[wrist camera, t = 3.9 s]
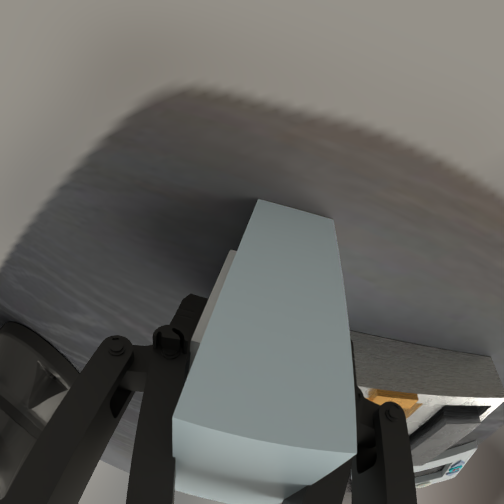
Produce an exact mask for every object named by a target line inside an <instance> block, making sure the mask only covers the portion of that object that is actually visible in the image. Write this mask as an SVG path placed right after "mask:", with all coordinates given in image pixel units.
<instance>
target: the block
mask: <svg viewBox="0 0 504 504" xmlns="http://www.w3.org/2000/svg"><path fill="white" fill-rule="evenodd" d="M172 445H173V457H175V458H176V477H175V490H177V491H180V492H183V493H187V494H190V495H194V496H198V497H202V498H205V499H209V500H214V501H218V502H222V503H227V504H279V503H281V502H283V500H284V499H286V498H287V497H289V496H291V495H292V494H294V493H296V492H298V491H299V490H301V489H302V488H304V487H306V486H307V485H312V484H314V483H315V482H317V481H318V480H320V479H321V478H323V477H325V476H326V475H328V474H329V473H331V472H332V471H333V470H335V469H336V468H338V467H339V466H341V465H342V464H343V463H345V462H346V461H348V460H349V459H350V458H352V457H353V456H354V455H356V454H357V431H356V407H355V389H354V375H353V363H352V351H351V341H350V331H349V322H348V313H347V305H346V297H345V290H344V283H343V276H342V269H341V262H340V256H339V250H338V243H337V238H336V232H335V226H334V221H333V219H329V218H326V217H322V216H319V215H316V214H312V213H309V212H305V211H301V210H298V209H294V208H291V207H287V206H283V205H280V204H276V203H272V202H269V201H265V200H261V199H258V201H257V203H256V205H255V208H254V210H253V213H252V215H251V218H250V220H249V223H248V225H247V228H246V230H245V233H244V235H243V237H242V240H241V242H240V245H239V247H238V250H237V252H236V255H235V257H234V260H233V262H232V265H231V267H230V270H229V272H228V275H227V277H226V280H225V282H224V285H223V287H222V290H221V292H220V295H219V298H218V300H217V303H216V305H215V308H214V310H213V313H212V315H211V318H210V320H209V323H208V326H207V328H206V331H205V333H204V336H203V338H202V341H201V343H200V346H199V349H198V351H197V354H196V356H195V359H194V362H193V364H192V367H191V369H190V372H189V375H188V377H187V380H186V382H185V385H184V388H183V390H182V393H181V395H180V398H179V401H178V403H177V406H176V409H175V411H174V414H173V417H172Z"/></svg>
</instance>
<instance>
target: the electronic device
mask: <svg viewBox="0 0 504 504" xmlns="http://www.w3.org/2000/svg"><path fill="white" fill-rule="evenodd" d="M477 448H478V447H477V442H476V441H473V442H470V443H467V444H464V445H461V446H458V447H455V448H451V449H448V450H445V451H444V452H442V453H441V454H439V455H438V456H436V457H435V458H433V459H432V460H430V461H429V462H427V463H426V464H424V465H423V466H413V469H414V472H418V471H422V470H426V469H430V468H434V467H438V466H441V465H445V464H446V465H445V467H444V468H443V469H442V470H440V471H438V472H436V473H432V474H428V475H424V476H420V477H415V487H416V488H422V487H425V486H428V485H430V484H433V483H437V482H441V481H444V480H448V479H451V478H454V477H455V476H456V475H457V474H458V472H459V471H460V470H461V469H462V468H463V466H464V465H465V464H466V462H467V461H468V460H469V459H470V457H471V456H472V455H473V453H474V452H475V451H476V449H477ZM351 480H352V477H351Z"/></svg>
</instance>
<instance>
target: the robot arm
mask: <svg viewBox="0 0 504 504" xmlns="http://www.w3.org/2000/svg"><path fill="white" fill-rule="evenodd" d="M236 252H237V251H234V250H231V249H230V251H229V253H228V256H227V258H226V260H225V262H224V265H223V267H222V269H221V272H220V274H219V276H218V278H217V281H216V283H215V285H214V288H213V290H212V292H211V295H210V297H209V299H207V298H203V297H200V296H196V295H193V294H190V295H188V296H187V297H186V298H184V299H183V300H182V302H181V304H180V306H179V309H178V310H177V312H176V314H175V316H174V317H173V319H172V321H171V323H170V325H165V326H161V327H159V328H158V329H156V330H155V332H154V334H153V345H150V346H138V345H132V343H131V342H130V341H129V340H128V339H127V338H125V337H123V336H119V335H116V336H110V337H108V338H106V339H105V340H104V341H103V342H102V343H101V344H100V346H99V347H98V349H97V350H96V351H95V353H94V354H93V356H92V357H91V359H90V360H89V361H88V363H87V364H86V366H85V367H84V369H83V370H82V371H81V373H80V374H79V373H78V372H77V371H76V370H75V368H74V367H73V366H72V365H71V364H70V363H69V362H68V361H67V360H66V359H65V358H64V357H63V356H62V355H61V354H60V353H59V352H58V351H57V350H55V349H54V348H53V347H52V346H51V345H50V344H48V343H47V342H46V341H45V340H43V339H42V338H41V337H40V336H38V335H37V334H35V333H34V332H32V331H31V330H29V329H28V328H26V327H24V326H22V325H20V324H17V323H14V322H8V323H6V324H5V325H4V326H3V327H2V328H1V329H0V504H78V502H79V500H80V498H81V496H82V494H83V492H84V490H85V488H86V485H87V484H88V482H89V480H90V478H91V476H92V474H93V472H94V470H95V467H96V466H97V463H98V462H99V460H100V458H101V456H102V454H103V452H104V450H105V448H106V446H107V444H108V442H109V440H110V438H111V436H112V434H113V433H114V431H115V429H116V427H117V425H118V423H119V421H120V419H121V417H122V415H123V414H124V412H125V410H126V408H127V406H128V404H129V402H130V400H131V399H132V397H133V395H134V393H135V391H140V392H144V393H143V398H142V404H141V409H140V414H139V420H138V425H137V431H136V437H135V443H134V449H133V455H132V462H131V468H130V476H129V483H128V491H127V499H126V504H174V492H175V477H176V458H175V457H173V445H172V417H173V414H174V411H175V409H176V406H177V403H178V401H179V398H180V395H181V393H182V390H183V388H184V383H185V381H186V378H187V377H188V375H189V372H190V369H191V367H192V364H193V362H194V359H195V356H196V354H197V351H198V349H199V346H200V343H201V341H202V338H203V336H204V333H205V331H206V328H207V326H208V323H209V320H210V318H211V315H212V313H213V310H214V308H215V305H216V303H217V300H218V298H219V295H220V292H221V290H222V287H223V285H224V282H225V280H226V277H227V275H228V272H229V270H230V267H231V265H232V262H233V260H234V257H235V255H236ZM350 341H351V351H352V363H353V375H354V389H355V407H356V431H357V454H356V455H354V456H353V457H352V458H350V459H349V460H348V461H346V462H345V463H343V464H342V465H341V466H339V467H338V468H336V469H335V470H333V471H332V472H331V473H329V474H328V475H326V476H325V477H323V478H321V479H320V480H318V481H317V482H315V483H314V484H312V485H307V486H306V487H304V488H302V489H301V490H299V491H298V492H296V493H294V494H292V495H291V496H289V497H287V498H286V499H284V500H283V502H282V504H342V501H343V497H344V494H345V490H346V486H347V482H348V478H349V474H350V469H351V477H352V504H417V498H416V487H415V477H414V469H413V461H412V454H411V447H410V440H409V434H408V428H407V422H406V416H405V413H404V410H403V409H402V407H401V406H400V405H398V404H397V403H395V402H391V401H389V402H385V403H383V404H382V405H378V404H376V403H374V402H372V401H370V400H368V399H366V398H365V397H364V396H363V393H362V391H361V389H360V388H359V387H358V386H357V380H356V368H355V360H354V359H355V356H354V346H353V342H352V340H351V338H350Z"/></svg>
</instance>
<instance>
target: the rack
mask: <svg viewBox="0 0 504 504" xmlns="http://www.w3.org/2000/svg"><path fill="white" fill-rule="evenodd" d="M349 331H350V330H349ZM350 338H351V340H352V342H353V346H354V356H355V359H354V360H355V368H356V380H357V386H358V387H359V388H360V389H361V391H362V393H363V396H364V397H365V398H366V399H368V400H370V401H372V402H374V403H376V404H378V405H382V404H383V403H385V402H389V401H391V402H395V403H397V404H398V405H400V406H401V407H402V409H403V410H404V413H405V416H406V422H407V428H408V434H409V440H410V447H411V454H412V461H413V466H423V465H424V464H426V463H427V462H429V461H430V460H432V459H433V458H435V457H436V456H438V455H439V454H441V453H442V452H444V451H445V450H447V449H448V448H450V447H451V446H452V445H454V444H455V443H456V442H458V441H459V440H461V439H462V438H463V437H464V436H466V435H467V434H468V433H470V432H471V431H472V430H473V429H475V428H476V427H477V426H478V425H480V424H481V421H482V420H483V419H484V418H485V417H487V416H488V415H489V414H490V413H491V412H492V411H493V410H495V409H496V408H497V407H498V406H499V405H500V404H501V403H502V402H503V401H504V388H503V386H502V383H501V380H500V378H499V375H498V373H497V370H496V368H495V365H494V363H493V361H492V358H491V357H488V356H481V355H475V354H468V353H462V352H456V351H450V350H445V349H439V348H433V347H428V346H422V345H417V344H412V343H407V342H402V341H397V340H392V339H387V338H382V337H377V336H373V335H368V334H363V333H359V332H354V331H350Z"/></svg>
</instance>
